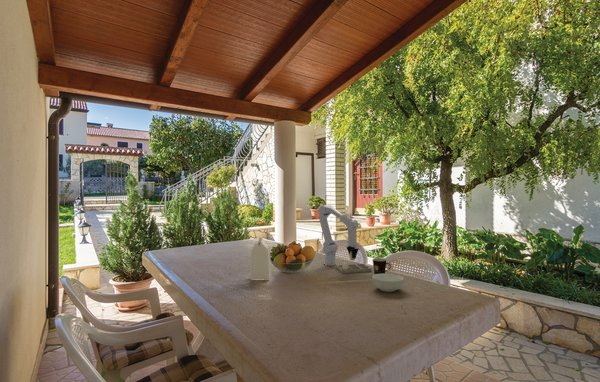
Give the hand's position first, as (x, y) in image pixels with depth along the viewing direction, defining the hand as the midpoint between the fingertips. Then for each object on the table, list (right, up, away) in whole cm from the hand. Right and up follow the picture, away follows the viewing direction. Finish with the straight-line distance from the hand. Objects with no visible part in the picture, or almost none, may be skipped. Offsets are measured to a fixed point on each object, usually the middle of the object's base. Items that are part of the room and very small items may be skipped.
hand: (352, 257), depth 226 cm
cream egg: (-6, -8, -7) cm, 12 cm away
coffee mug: (+15, -9, -16) cm, 24 cm away
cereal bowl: (+12, -9, -44) cm, 47 cm away
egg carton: (0, -9, -3) cm, 9 cm away
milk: (-60, -10, -17) cm, 63 cm away
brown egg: (0, -1, 0) cm, 1 cm away
